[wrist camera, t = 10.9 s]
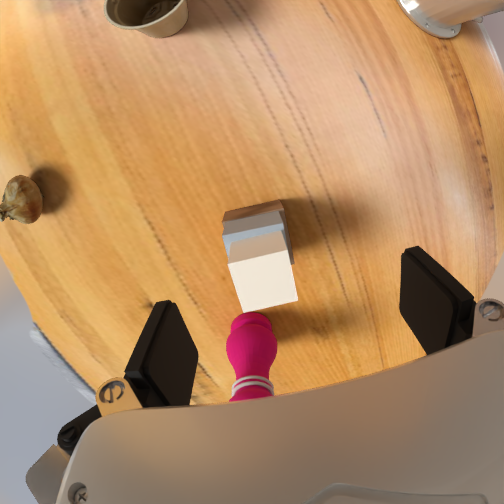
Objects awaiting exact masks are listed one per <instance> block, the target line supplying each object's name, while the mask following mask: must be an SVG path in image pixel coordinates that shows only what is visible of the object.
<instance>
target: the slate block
mask: <svg viewBox="0 0 504 504" xmlns="http://www.w3.org/2000/svg"><path fill="white" fill-rule="evenodd" d="M279 230H281V232H282V235H283V238H284V241H285V244H286V247H287V242H286V236H285V231H284V226H283V222H282V219H281V217H280V214H279V211H275V212H271V213H266V214H261V215H256V216H251V217H247V218H242V219H237V220H233V221H228V222H225V226H224V230H223V234H222V237H223V241H224V245H225V248H226V252H227V256H228V258H229V251H230V245H231V242H233V241H237V240H241V239H246V238H250V237H254V236H258V235H262V234H266V233H270V232H274V231H279ZM287 250H288V247H287ZM288 254H289V253H288ZM289 259H290V258H289Z"/></svg>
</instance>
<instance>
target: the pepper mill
mask: <svg viewBox="0 0 504 504" xmlns="http://www.w3.org/2000/svg"><path fill="white" fill-rule="evenodd" d="M226 351H227V355H228V359H229V361H230V363H231V364H232V366H233V368H234V370H235V373H236V381H235V382H234V384H233V386H232V398H231V399H230V400H229V402H232V401H241V400H248V399H256V398H262V397H269V396H274V391H273V389H274V387H273V384H272V383H271V381H269V370H270V367H271V365H272V363H273V361H274V359H275V357H276V354H277V340H276V338H275V336H274V334H273V333H272V326H271V323H270V321H269V320H268V318H267V317H265V316H264V315H262V314H259V313H255V312H248V313H244V314H241V315H239V316H238V317H236V318H235V319H234V321H233V322H232V325H231V334H230V335H229V337H228V339H227V343H226Z"/></svg>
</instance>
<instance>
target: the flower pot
mask: <svg viewBox="0 0 504 504" xmlns="http://www.w3.org/2000/svg"><path fill="white" fill-rule="evenodd" d="M174 4H178V5H177V6H176V7H174V6H173V5H174ZM154 8H156V10H155V11H153V12H152V14H151V15H149V14H150V12H151V11H152V10H153V9H154ZM104 14H105V16H106V18H107V20H108V21H109V22H110V23H111V24H112V25H114V26H116V27H118V28H121V29H128V30H138V31H140V32H142V33H144V34H146V35H148V36H150V37H153V38H163V37H167V36H171V35H173V34H175V33H176V32H178V31H179V30H180V29H181V28H182V27H183V26H184V25H185V23H186V22H187V19H188V8H187V0H105V2H104Z"/></svg>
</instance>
